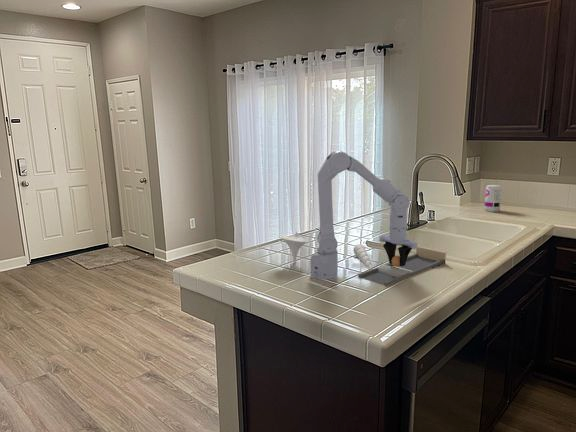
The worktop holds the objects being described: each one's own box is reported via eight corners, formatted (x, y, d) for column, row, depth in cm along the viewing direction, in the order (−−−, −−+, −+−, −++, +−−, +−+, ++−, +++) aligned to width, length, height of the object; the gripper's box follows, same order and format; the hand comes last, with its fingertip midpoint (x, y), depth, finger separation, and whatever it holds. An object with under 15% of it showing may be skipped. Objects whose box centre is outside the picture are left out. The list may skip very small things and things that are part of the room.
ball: (398, 269, 154) (398, 258, 153) (389, 266, 157) (389, 255, 156) (405, 266, 156) (405, 255, 155) (396, 264, 159) (396, 253, 158)
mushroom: (295, 256, 180) (294, 227, 178) (313, 261, 172) (313, 232, 170) (275, 261, 174) (274, 232, 171) (294, 267, 166) (293, 237, 163)
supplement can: (485, 211, 256) (486, 186, 253) (483, 209, 264) (485, 184, 261) (500, 212, 254) (502, 186, 251) (498, 209, 262) (500, 184, 259)
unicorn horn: (362, 274, 158) (362, 261, 157) (353, 255, 181) (353, 243, 180) (376, 273, 158) (376, 260, 157) (364, 254, 181) (364, 243, 180)
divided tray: (386, 297, 144) (386, 274, 143) (358, 288, 153) (358, 266, 152) (444, 272, 167) (445, 252, 165) (417, 265, 176) (418, 246, 174)
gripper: (422, 228, 150) (421, 266, 153) (388, 222, 161) (387, 257, 164) (410, 232, 146) (409, 270, 149) (375, 225, 157) (375, 261, 160)
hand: (397, 264), depth 156 cm, fingers closed on ball, 4 cm apart
